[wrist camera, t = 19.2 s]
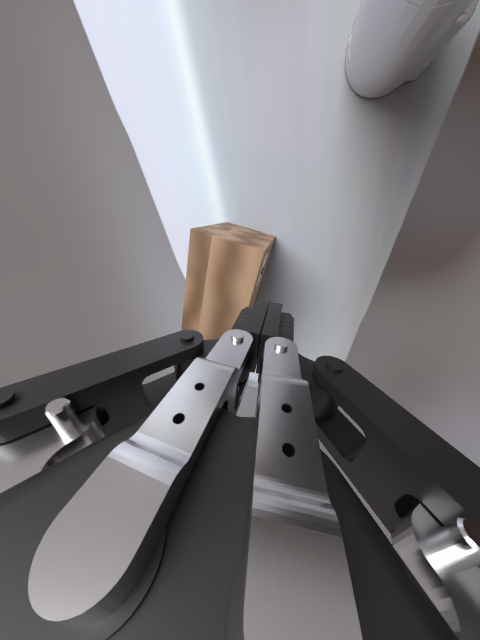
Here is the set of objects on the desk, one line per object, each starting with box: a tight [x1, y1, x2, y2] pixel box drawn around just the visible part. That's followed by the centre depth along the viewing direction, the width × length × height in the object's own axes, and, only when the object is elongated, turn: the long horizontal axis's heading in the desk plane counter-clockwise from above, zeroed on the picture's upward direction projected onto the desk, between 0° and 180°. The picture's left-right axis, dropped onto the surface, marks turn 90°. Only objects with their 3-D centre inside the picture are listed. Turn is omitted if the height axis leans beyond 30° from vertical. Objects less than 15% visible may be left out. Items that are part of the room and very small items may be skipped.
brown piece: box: [182, 222, 275, 340], centre depth 37 cm, size 10×20×16 cm, turn 167°
